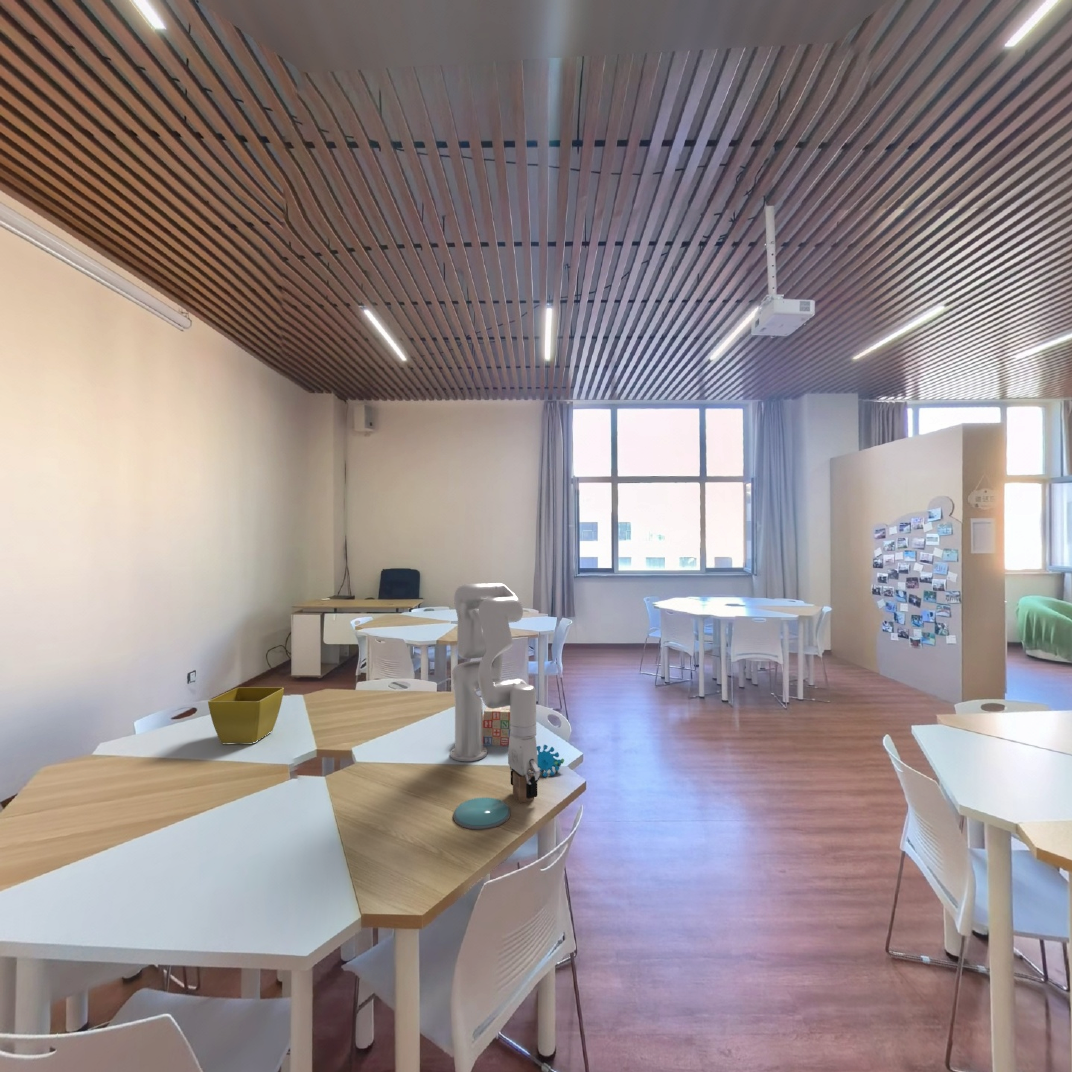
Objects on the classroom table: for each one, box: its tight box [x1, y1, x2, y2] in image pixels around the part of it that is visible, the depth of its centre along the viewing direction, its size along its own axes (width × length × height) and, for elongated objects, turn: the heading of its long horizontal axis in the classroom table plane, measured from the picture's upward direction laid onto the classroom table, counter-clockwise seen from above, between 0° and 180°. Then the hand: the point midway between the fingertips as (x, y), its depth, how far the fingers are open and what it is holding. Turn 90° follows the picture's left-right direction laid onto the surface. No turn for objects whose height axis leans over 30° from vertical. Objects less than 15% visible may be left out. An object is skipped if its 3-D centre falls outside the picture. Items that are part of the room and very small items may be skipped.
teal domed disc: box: [453, 797, 511, 831], centre depth 139 cm, size 15×15×1 cm
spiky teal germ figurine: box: [537, 744, 565, 778], centre depth 167 cm, size 11×6×10 cm
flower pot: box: [207, 686, 285, 744], centre depth 197 cm, size 19×19×17 cm
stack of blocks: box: [483, 705, 510, 747], centre depth 192 cm, size 21×6×12 cm, turn 85°
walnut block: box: [512, 770, 535, 804], centre depth 148 cm, size 4×4×7 cm
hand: (523, 790), depth 148 cm, fingers open, 9 cm apart
